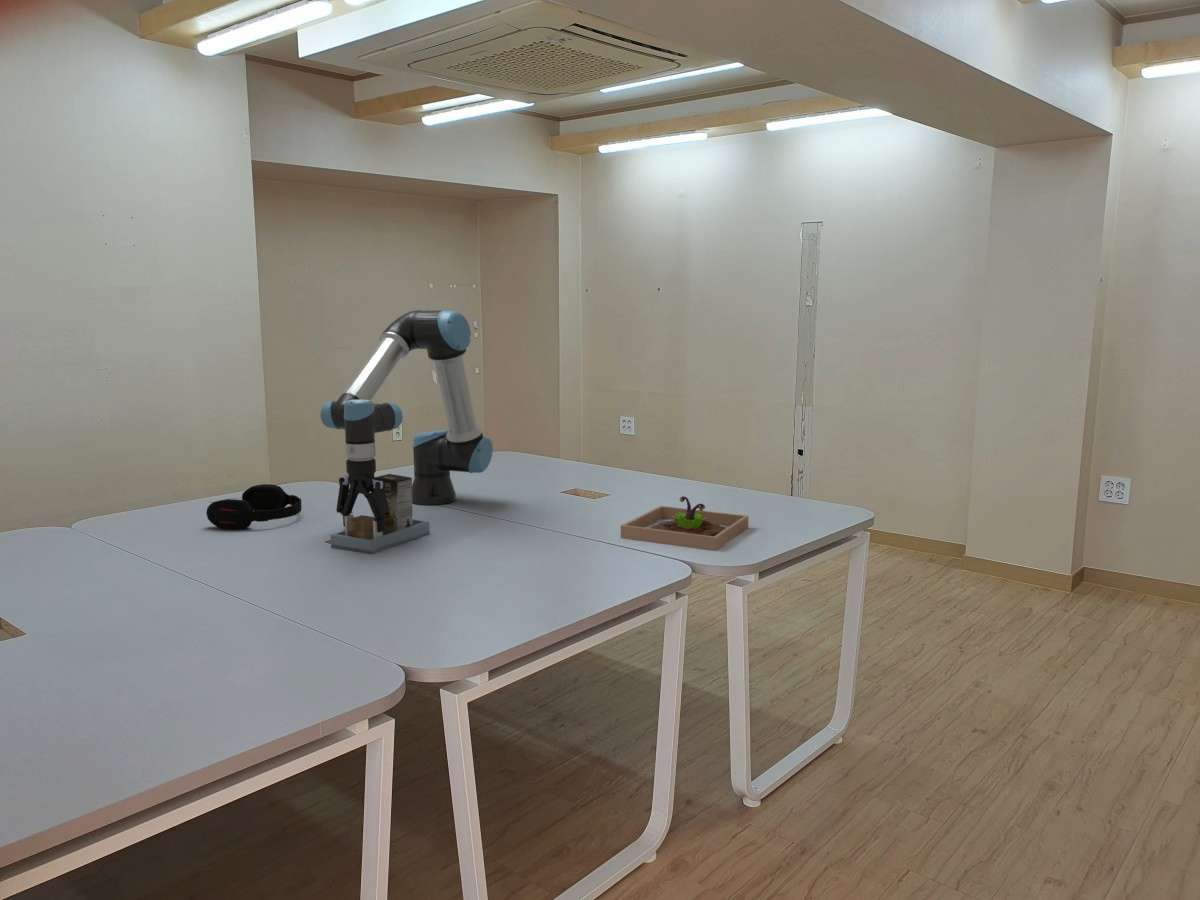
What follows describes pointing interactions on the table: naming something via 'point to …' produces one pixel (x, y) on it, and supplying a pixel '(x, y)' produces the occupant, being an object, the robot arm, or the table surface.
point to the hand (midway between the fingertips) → (364, 541)
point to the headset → (253, 507)
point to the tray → (380, 539)
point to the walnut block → (361, 527)
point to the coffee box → (397, 502)
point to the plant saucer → (638, 532)
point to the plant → (690, 522)
